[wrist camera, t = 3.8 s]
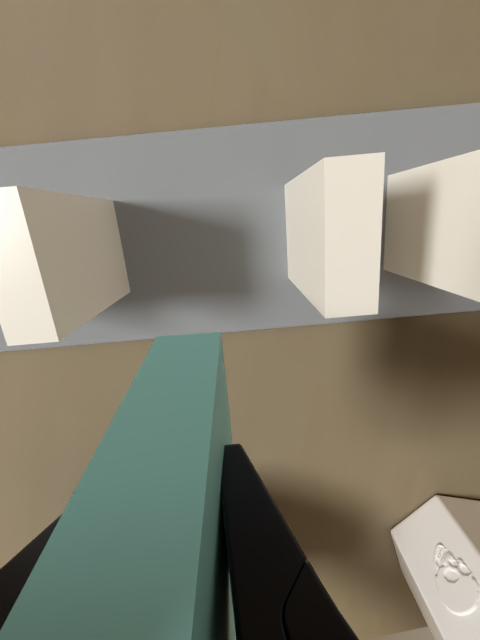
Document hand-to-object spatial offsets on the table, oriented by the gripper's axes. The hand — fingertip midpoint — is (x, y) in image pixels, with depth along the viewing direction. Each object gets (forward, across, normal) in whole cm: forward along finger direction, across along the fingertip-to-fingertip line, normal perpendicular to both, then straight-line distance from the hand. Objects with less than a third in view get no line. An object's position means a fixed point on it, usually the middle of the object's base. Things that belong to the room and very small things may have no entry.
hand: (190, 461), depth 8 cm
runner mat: (+12, +2, -4) cm, 13 cm away
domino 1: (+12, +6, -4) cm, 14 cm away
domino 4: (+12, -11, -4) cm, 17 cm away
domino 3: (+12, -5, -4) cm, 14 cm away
